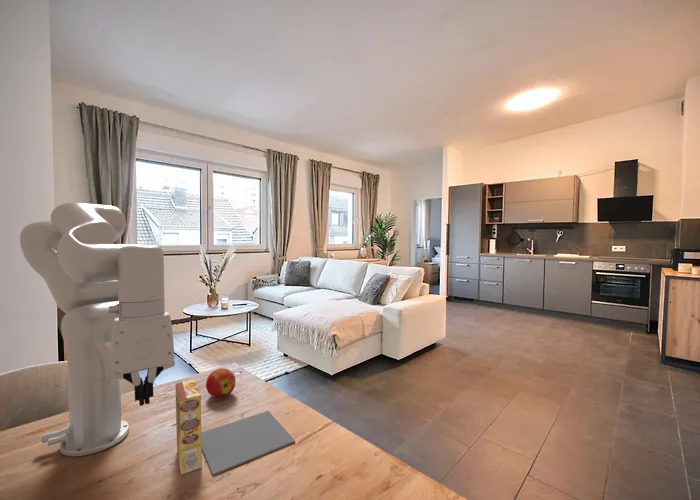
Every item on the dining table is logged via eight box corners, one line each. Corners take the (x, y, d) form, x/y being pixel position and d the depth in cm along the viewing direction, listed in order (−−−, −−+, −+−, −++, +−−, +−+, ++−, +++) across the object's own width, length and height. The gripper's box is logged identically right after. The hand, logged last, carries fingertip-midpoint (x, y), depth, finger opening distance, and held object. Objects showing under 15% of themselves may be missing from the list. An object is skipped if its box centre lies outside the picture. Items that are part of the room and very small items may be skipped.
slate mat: (212, 475, 63) (212, 473, 63) (196, 435, 76) (196, 434, 76) (295, 442, 74) (295, 440, 74) (268, 412, 87) (268, 410, 87)
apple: (213, 405, 90) (213, 377, 90) (201, 395, 96) (201, 369, 96) (239, 395, 96) (239, 369, 96) (227, 386, 102) (226, 362, 101)
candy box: (202, 468, 66) (202, 394, 65) (179, 476, 63) (179, 400, 63) (196, 445, 73) (196, 378, 72) (175, 451, 71) (174, 383, 70)
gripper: (91, 317, 55) (94, 423, 55) (188, 307, 64) (190, 398, 64) (94, 310, 61) (96, 406, 61) (181, 301, 70) (183, 385, 70)
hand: (144, 401), depth 63 cm, fingers closed
